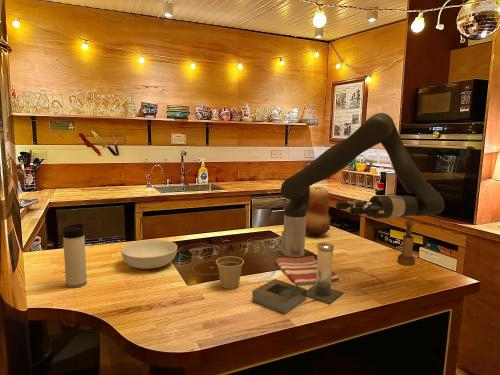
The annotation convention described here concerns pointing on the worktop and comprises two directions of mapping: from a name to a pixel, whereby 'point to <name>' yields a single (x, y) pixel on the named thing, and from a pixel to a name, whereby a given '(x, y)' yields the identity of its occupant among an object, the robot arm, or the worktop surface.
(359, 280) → the worktop surface
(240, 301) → the worktop surface
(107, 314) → the worktop surface
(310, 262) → the dish towel
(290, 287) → the bore block
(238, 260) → the flower pot
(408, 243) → the pepper mill
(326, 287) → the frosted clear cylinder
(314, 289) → the rubber mat
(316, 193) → the butternut squash
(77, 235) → the travel mug
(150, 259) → the serving bowl
